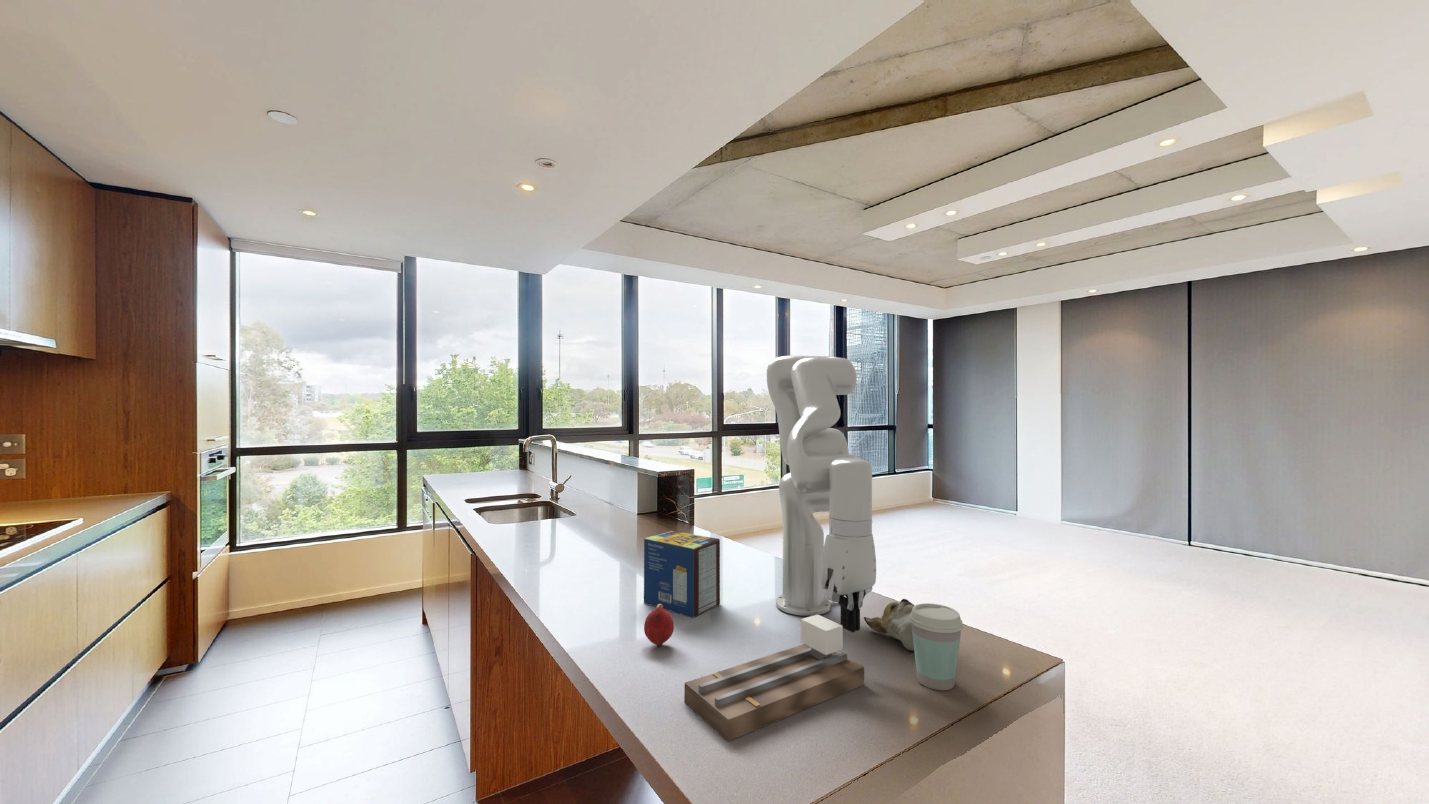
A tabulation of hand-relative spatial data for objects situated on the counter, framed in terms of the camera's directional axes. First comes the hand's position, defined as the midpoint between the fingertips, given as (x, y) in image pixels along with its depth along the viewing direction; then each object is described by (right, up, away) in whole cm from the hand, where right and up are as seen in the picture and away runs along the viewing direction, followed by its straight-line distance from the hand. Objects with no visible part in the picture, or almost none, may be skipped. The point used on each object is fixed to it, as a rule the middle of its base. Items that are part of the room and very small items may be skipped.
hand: (850, 628), depth 97 cm
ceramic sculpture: (+13, -7, +11) cm, 19 cm away
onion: (-35, -7, +8) cm, 37 cm away
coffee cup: (+13, -7, -6) cm, 16 cm away
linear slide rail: (-14, -7, -10) cm, 18 cm away
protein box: (-32, -7, +30) cm, 45 cm away
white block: (-6, -3, -4) cm, 8 cm away
